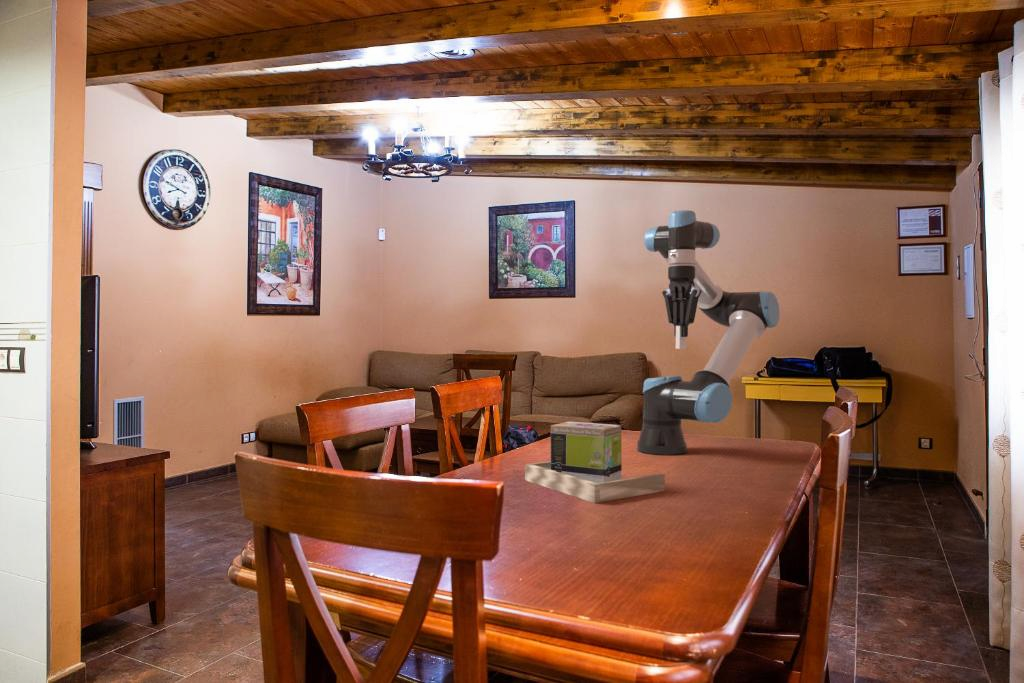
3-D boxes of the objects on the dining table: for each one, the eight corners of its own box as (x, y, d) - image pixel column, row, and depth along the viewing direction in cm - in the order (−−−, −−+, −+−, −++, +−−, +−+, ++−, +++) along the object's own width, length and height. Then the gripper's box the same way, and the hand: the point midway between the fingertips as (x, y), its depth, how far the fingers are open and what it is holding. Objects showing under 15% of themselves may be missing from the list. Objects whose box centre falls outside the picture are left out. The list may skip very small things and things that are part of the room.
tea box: (622, 484, 176) (623, 424, 176) (604, 492, 168) (605, 429, 167) (568, 476, 184) (568, 419, 184) (549, 484, 176) (549, 424, 175)
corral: (524, 480, 180) (525, 464, 179) (591, 470, 191) (591, 455, 191) (594, 503, 157) (594, 484, 157) (664, 490, 169) (664, 473, 169)
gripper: (655, 266, 207) (654, 348, 208) (689, 263, 196) (689, 349, 197) (674, 267, 211) (673, 347, 212) (708, 264, 200) (707, 349, 201)
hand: (680, 348), depth 204 cm, fingers closed
